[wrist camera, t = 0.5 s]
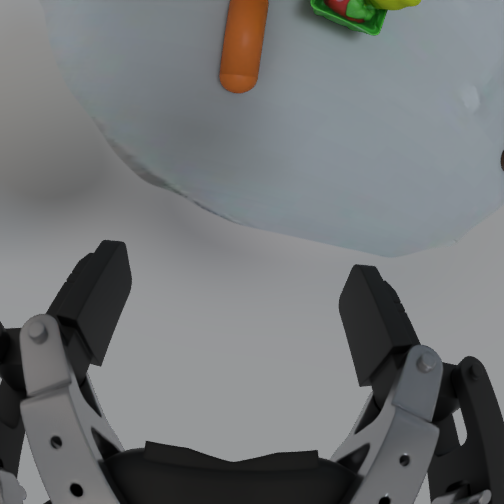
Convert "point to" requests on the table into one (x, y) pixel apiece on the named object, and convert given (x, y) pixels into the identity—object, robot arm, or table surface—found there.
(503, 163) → the spoon
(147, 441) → the robot arm
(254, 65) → the carrot
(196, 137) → the table surface
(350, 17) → the fruit basket
